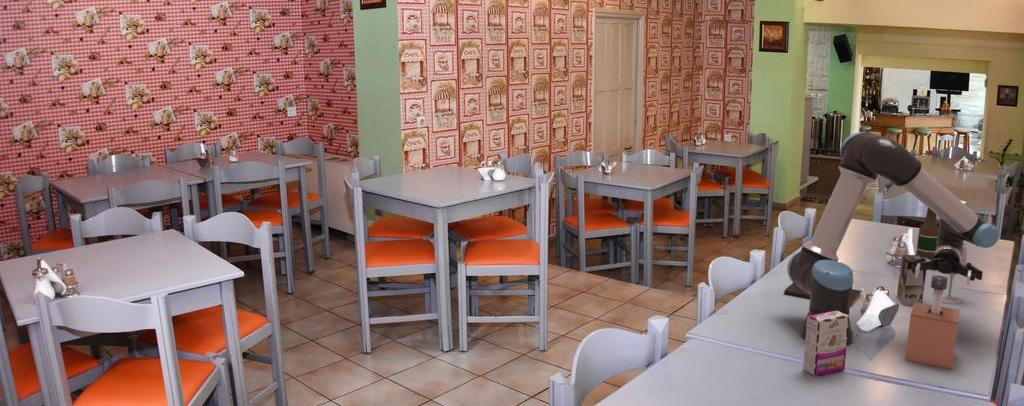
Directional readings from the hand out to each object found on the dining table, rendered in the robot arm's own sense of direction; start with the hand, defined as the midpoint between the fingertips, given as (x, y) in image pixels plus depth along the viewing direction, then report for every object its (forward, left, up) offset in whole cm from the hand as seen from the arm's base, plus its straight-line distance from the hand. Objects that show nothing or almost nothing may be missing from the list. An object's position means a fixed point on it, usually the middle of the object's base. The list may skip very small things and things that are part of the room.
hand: (941, 277), depth 237 cm
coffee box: (+31, +33, -23) cm, 51 cm away
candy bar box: (-42, +2, -23) cm, 48 cm away
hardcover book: (+8, +51, -24) cm, 57 cm away
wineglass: (+45, +28, -23) cm, 58 cm away
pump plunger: (-7, -5, -20) cm, 22 cm away
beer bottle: (+83, +67, -23) cm, 109 cm away
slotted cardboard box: (-6, -4, -23) cm, 24 cm away
